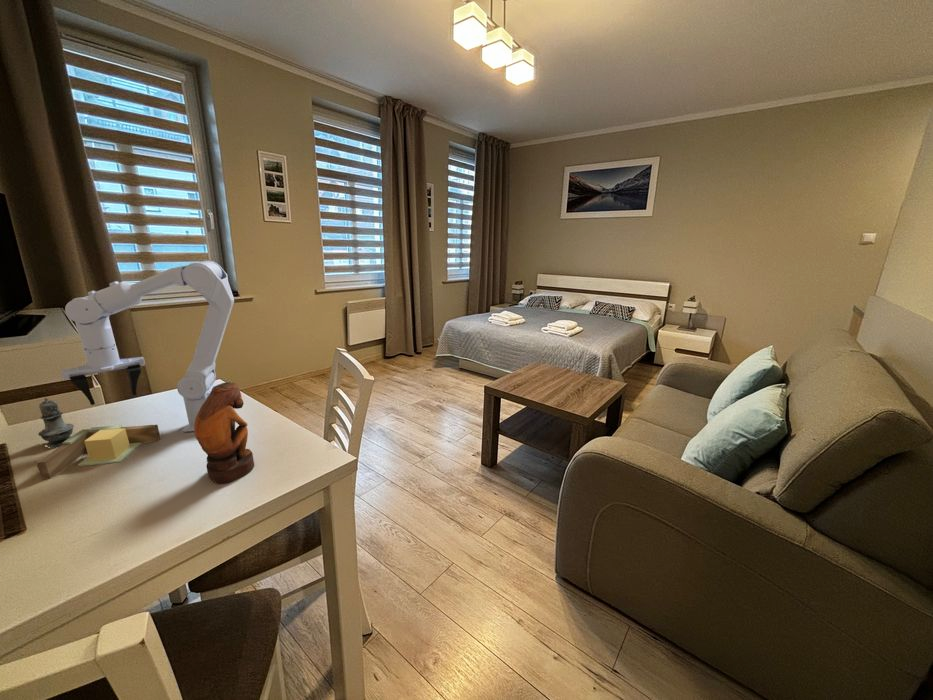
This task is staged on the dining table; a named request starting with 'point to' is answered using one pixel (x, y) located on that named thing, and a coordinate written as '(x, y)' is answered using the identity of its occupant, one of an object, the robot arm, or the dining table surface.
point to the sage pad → (118, 459)
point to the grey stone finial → (54, 425)
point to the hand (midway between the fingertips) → (114, 398)
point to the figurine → (223, 434)
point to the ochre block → (107, 444)
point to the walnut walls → (77, 448)
